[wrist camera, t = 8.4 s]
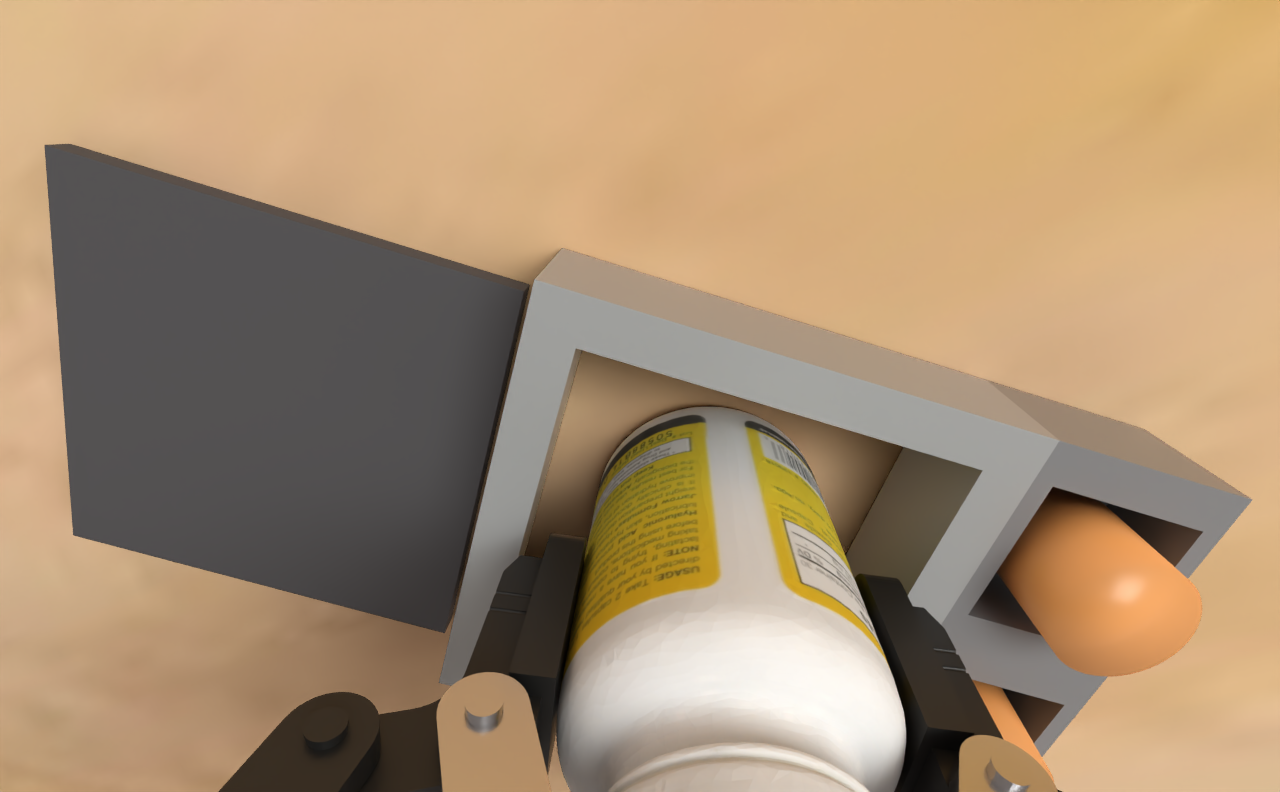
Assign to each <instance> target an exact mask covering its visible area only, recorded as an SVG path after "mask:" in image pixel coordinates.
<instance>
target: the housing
mask: <svg viewBox="0 0 1280 792" xmlns="http://www.w3.org/2000/svg"><path fill="white" fill-rule="evenodd" d="M582 350H583V351H587V352H590V353H593V354H597V355H600V356H603V357H607V358H610V359H613V360H617V361H620V362H623V363H627V364H630V365H633V366H637V367H640V368H643V369H647V370H650V371H653V372H657V373H660V374H663V375H667V376H670V377H673V378H676V379H680V380H683V381H686V382H690V383H693V384H696V385H700V386H703V387H706V388H710V389H713V390H716V391H720V392H723V393H726V394H730V395H733V396H736V397H740V398H743V399H746V400H750V401H753V402H756V403H760V404H763V405H766V406H770V407H773V408H776V409H780V410H783V411H786V412H790V413H793V414H796V415H800V416H803V417H806V418H810V419H813V420H816V421H820V422H823V423H826V424H830V425H833V426H836V427H840V428H843V429H846V430H850V431H853V432H856V433H860V434H863V435H866V436H869V437H873V438H876V439H879V440H883V441H886V442H889V443H893V444H896V445H899V446H903V449H902V451H901V453H900V455H899V457H898V458H897V460H896V462H895V464H894V466H893V468H892V470H891V472H890V473H889V475H888V477H887V479H886V481H885V483H884V485H883V486H882V488H881V490H880V492H879V494H878V496H877V498H876V500H875V501H874V503H873V505H872V507H871V509H870V511H869V513H868V515H867V516H866V518H865V520H864V522H863V524H862V526H861V528H860V530H859V531H858V533H857V535H856V537H855V539H854V541H853V543H852V545H851V546H850V548H849V550H848V552H847V554H846V559H847V561H848V564H849V566H850V569H851V572H852V574H853V577H854V579H855V577H856V576H857V575H858V574H860V573H861V574H869V575H877V576H884V577H892V578H897V579H899V580H900V582H901V583H902V585H903V587H904V589H905V591H906V593H907V595H908V597H909V600H910V602H911V604H912V606H915V607H923V608H925V609H926V610H927V611H928V612H929V613H930V614H931V615H932V616H933V617H934V618H935V619H936V620H937V621H938V622H939V623H940V624H941V625H942V626H943V627H944V628H945V630H946V632H947V634H948V636H949V638H950V639H951V641H952V643H953V645H954V647H955V649H956V654H957V655H959V656H960V658H961V660H962V662H963V664H964V666H965V668H966V673H969V675H970V677H971V679H972V680H976V681H979V682H983V683H986V684H990V685H994V686H997V687H1001V688H1002V689H1003V691H1004V693H1005V695H1006V696H1007V698H1008V700H1009V701H1010V703H1011V705H1012V707H1013V708H1014V710H1015V712H1016V714H1017V715H1018V717H1019V719H1020V720H1021V722H1022V724H1023V726H1024V727H1025V729H1026V731H1027V733H1028V734H1029V736H1030V738H1031V739H1032V741H1033V743H1034V745H1035V746H1036V748H1037V750H1038V752H1039V753H1040V755H1041V757H1042V756H1043V755H1044V754H1045V753H1046V751H1047V750H1048V749H1049V748H1050V747H1051V745H1052V744H1053V743H1054V742H1055V740H1056V739H1057V738H1058V737H1059V736H1060V734H1061V733H1062V732H1063V731H1064V729H1065V728H1066V727H1067V726H1068V725H1069V723H1070V722H1071V721H1072V720H1073V718H1074V717H1075V716H1076V715H1077V714H1078V712H1079V711H1080V710H1081V709H1082V707H1083V706H1084V705H1085V704H1086V703H1087V701H1088V700H1089V699H1090V698H1091V696H1092V695H1093V694H1094V693H1095V692H1096V690H1097V689H1098V688H1099V687H1100V685H1101V684H1102V683H1103V682H1104V681H1105V679H1106V678H1107V677H1108V676H1094V675H1089V674H1084V673H1081V672H1078V671H1076V670H1074V669H1072V668H1070V667H1068V666H1067V665H1065V664H1064V663H1063V662H1062V661H1061V660H1060V659H1059V658H1058V657H1057V656H1056V655H1055V653H1054V652H1053V650H1052V649H1051V648H1050V646H1049V645H1048V643H1047V642H1046V641H1045V639H1044V638H1043V636H1042V635H1041V634H1040V632H1039V631H1038V629H1037V628H1036V627H1035V625H1034V624H1033V622H1032V621H1031V620H1030V618H1029V617H1028V615H1027V614H1026V613H1025V611H1024V610H1023V609H1022V607H1021V606H1020V604H1019V603H1018V602H1017V600H1016V599H1015V597H1014V596H1013V595H1012V593H1011V592H1010V590H1009V589H1008V588H1007V586H1006V585H1005V583H1004V582H1003V581H1002V579H1001V578H1000V576H999V575H998V574H997V570H998V569H999V567H1000V566H1001V564H1002V563H1003V561H1004V560H1005V558H1006V557H1007V555H1008V554H1009V552H1010V551H1011V549H1012V548H1013V546H1014V545H1015V543H1016V542H1017V540H1018V539H1019V537H1020V536H1021V534H1022V533H1023V531H1024V530H1025V528H1026V527H1027V525H1028V524H1029V522H1030V521H1031V519H1032V518H1033V516H1034V515H1035V513H1036V511H1037V510H1038V508H1039V507H1040V505H1041V504H1042V502H1043V501H1044V499H1045V498H1046V496H1047V495H1048V493H1049V492H1050V490H1051V489H1052V487H1056V488H1060V489H1063V490H1066V491H1070V492H1073V493H1076V494H1080V495H1083V496H1086V497H1090V498H1093V499H1096V500H1099V501H1101V502H1102V503H1103V504H1104V505H1105V506H1107V507H1108V508H1109V509H1110V510H1111V511H1112V512H1113V513H1114V514H1116V515H1117V516H1118V517H1119V518H1120V519H1121V520H1122V521H1123V522H1125V523H1126V524H1127V525H1128V526H1129V527H1130V528H1131V529H1132V530H1134V531H1135V532H1136V533H1137V534H1138V535H1139V536H1140V537H1141V538H1143V539H1144V540H1145V541H1146V542H1147V543H1148V544H1149V545H1150V546H1152V547H1153V548H1154V549H1155V550H1156V551H1157V552H1158V553H1159V554H1161V555H1162V556H1163V557H1164V558H1165V559H1166V560H1167V561H1168V562H1170V563H1171V564H1172V565H1173V566H1174V567H1175V568H1176V569H1177V570H1179V571H1180V572H1181V573H1182V574H1183V575H1184V576H1185V577H1186V578H1189V577H1190V575H1191V574H1192V573H1193V572H1194V571H1195V569H1196V568H1197V567H1198V566H1199V564H1200V563H1201V562H1202V561H1203V560H1204V558H1205V557H1206V556H1207V555H1208V553H1209V552H1210V551H1211V550H1212V549H1213V547H1214V546H1215V545H1216V544H1217V542H1218V541H1219V540H1220V539H1221V538H1222V536H1223V535H1224V534H1225V533H1226V532H1227V530H1228V529H1229V528H1230V527H1231V525H1232V524H1233V523H1234V522H1235V521H1236V519H1237V518H1238V517H1239V516H1240V514H1241V513H1242V512H1243V511H1244V510H1245V508H1246V507H1247V506H1248V505H1249V503H1250V502H1251V501H1252V499H1251V498H1249V497H1247V496H1246V495H1244V494H1243V493H1241V492H1240V491H1238V490H1237V489H1235V488H1234V487H1232V486H1231V485H1229V484H1228V483H1226V482H1225V481H1223V480H1221V479H1220V478H1218V477H1217V476H1215V475H1214V474H1212V473H1211V472H1209V471H1208V470H1206V469H1205V468H1203V467H1202V466H1200V465H1199V464H1197V463H1195V462H1194V461H1192V460H1191V459H1189V458H1188V457H1186V456H1185V455H1183V454H1182V453H1180V452H1179V451H1177V450H1176V449H1174V448H1172V447H1171V446H1169V445H1168V444H1166V443H1165V442H1163V441H1162V440H1160V439H1159V438H1157V437H1156V436H1154V435H1153V434H1151V433H1150V432H1148V431H1146V430H1145V429H1142V428H1139V427H1135V426H1132V425H1129V424H1126V423H1122V422H1119V421H1116V420H1113V419H1110V418H1106V417H1103V416H1100V415H1097V414H1094V413H1090V412H1087V411H1084V410H1081V409H1078V408H1074V407H1071V406H1068V405H1065V404H1061V403H1058V402H1055V401H1052V400H1049V399H1045V398H1042V397H1039V396H1036V395H1033V394H1029V393H1026V392H1023V391H1020V390H1017V389H1013V388H1010V387H1007V386H1004V385H1001V384H997V383H994V382H991V381H988V380H984V379H981V378H978V377H975V376H972V375H968V374H965V373H962V372H959V371H956V370H952V369H949V368H946V367H943V366H940V365H936V364H933V363H930V362H927V361H923V360H920V359H917V358H914V357H911V356H907V355H904V354H901V353H898V352H895V351H891V350H888V349H885V348H882V347H879V346H875V345H872V344H869V343H866V342H862V341H859V340H856V339H853V338H850V337H846V336H843V335H840V334H837V333H834V332H830V331H827V330H824V329H821V328H818V327H814V326H811V325H808V324H805V323H802V322H798V321H795V320H792V319H789V318H785V317H782V316H779V315H776V314H773V313H769V312H766V311H763V310H760V309H757V308H753V307H750V306H747V305H744V304H741V303H737V302H734V301H731V300H728V299H724V298H721V297H718V296H715V295H712V294H708V293H705V292H702V291H699V290H696V289H692V288H689V287H686V286H683V285H680V284H676V283H673V282H670V281H667V280H664V279H660V278H657V277H654V276H651V275H647V274H644V273H641V272H638V271H635V270H631V269H628V268H625V267H622V266H619V265H615V264H612V263H609V262H606V261H603V260H599V259H596V258H593V257H590V256H586V255H583V254H580V253H577V252H574V251H570V250H567V249H564V248H562V249H561V250H560V251H559V252H558V253H557V255H556V256H555V257H554V258H553V259H552V260H551V261H550V262H549V264H548V265H547V266H546V267H545V268H544V269H543V270H542V271H541V273H540V274H539V275H538V276H537V277H536V278H535V279H534V284H533V288H532V292H531V296H530V300H529V305H528V309H527V313H526V317H525V322H524V326H523V330H522V334H521V338H520V343H519V347H518V351H517V355H516V360H515V364H514V368H513V372H512V376H511V381H510V385H509V389H508V393H507V398H506V402H505V406H504V410H503V414H502V419H501V423H500V427H499V431H498V435H497V440H496V444H495V448H494V452H493V457H492V461H491V465H490V469H489V473H488V478H487V482H486V486H485V490H484V495H483V499H482V503H481V507H480V511H479V516H478V520H477V524H476V528H475V532H474V537H473V541H472V545H471V549H470V554H469V558H468V562H467V566H466V570H465V575H464V579H463V583H462V587H461V592H460V596H459V600H458V604H457V608H456V613H455V617H454V621H453V625H452V629H451V634H450V638H449V642H448V646H447V651H446V655H445V659H444V663H443V667H442V672H441V676H440V680H439V683H442V684H446V685H450V686H452V685H453V684H455V683H456V682H457V681H459V680H461V679H462V678H463V676H464V674H465V671H466V669H467V666H468V664H469V661H470V658H471V656H472V653H473V650H474V648H475V645H476V642H477V640H478V637H479V635H480V632H481V629H482V627H483V624H484V621H485V619H486V616H487V613H488V611H489V610H490V605H491V603H492V600H493V597H494V595H495V594H496V590H497V587H498V584H499V582H500V579H501V576H502V574H503V571H504V570H505V569H506V568H507V567H508V566H509V565H510V564H512V563H513V562H514V561H515V560H516V559H517V558H518V557H519V556H520V555H523V556H524V555H525V551H526V548H527V544H528V541H529V537H530V533H531V530H532V526H533V523H534V519H535V516H536V512H537V508H538V505H539V501H540V498H541V494H542V491H543V487H544V484H545V480H546V476H547V473H548V469H549V466H550V462H551V459H552V455H553V451H554V448H555V444H556V441H557V437H558V434H559V430H560V427H561V423H562V419H563V416H564V412H565V409H566V405H567V402H568V398H569V394H570V391H571V387H572V384H573V380H574V377H575V373H576V370H577V366H578V362H579V359H580V355H581V352H582Z"/></svg>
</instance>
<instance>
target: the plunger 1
mask: <svg viewBox="0 0 1280 792" xmlns="http://www.w3.org/2000/svg"><path fill="white" fill-rule="evenodd" d="M972 681H973V683H974V684H975V686H976V688H977V690H978V692H979V694H980V696H981V698H982V700H983V701H984V703H985V705H986V707H987V709H988V711H989V713H990V715H991V716H992V718H993V720H994V722H995V724H996V726H997V728H998V730H999V731H1000V733H1001V735H1002V737H1003V739H1004V740H1006V741H1008V742H1010V743H1012V744H1014V745H1016V746H1018V747H1019V748H1021V749H1022V750H1024V751H1025V752H1027V753H1028V754H1029V755H1031V756H1032V757H1033V758H1034V759H1035V760H1036V761H1037V762H1038V763H1039V764H1040V765H1041V766H1042V767H1043V768H1044V769H1045V770H1046V772H1047V773H1048V774H1049V776H1050V777H1051V779H1052V780H1053V777H1052V774H1051V772H1050V771H1049V769H1048V767H1047V765H1046V764H1045V762H1044V760H1043V758H1042V757H1041V755H1040V753H1039V752H1038V750H1037V748H1036V746H1035V745H1034V743H1033V741H1032V739H1031V738H1030V736H1029V734H1028V733H1027V731H1026V729H1025V727H1024V726H1023V724H1022V722H1021V720H1020V719H1019V717H1018V715H1017V714H1016V712H1015V710H1014V708H1013V707H1012V705H1011V703H1010V701H1009V700H1008V698H1007V696H1006V695H1005V693H1004V691H1003V689H1002V688H1001V687H997V686H994V685H990V684H986V683H983V682H979V681H976V680H972ZM1053 782H1054V780H1053Z"/></svg>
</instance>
